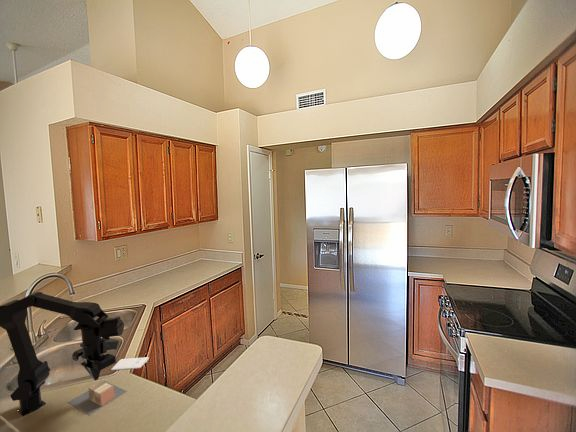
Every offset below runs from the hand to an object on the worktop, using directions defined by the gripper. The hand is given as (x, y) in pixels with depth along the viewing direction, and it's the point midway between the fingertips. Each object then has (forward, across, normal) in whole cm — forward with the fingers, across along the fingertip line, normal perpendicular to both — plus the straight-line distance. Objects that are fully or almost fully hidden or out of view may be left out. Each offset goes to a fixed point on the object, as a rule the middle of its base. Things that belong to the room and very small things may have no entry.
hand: (96, 379), depth 104 cm
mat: (+7, 0, 0) cm, 7 cm away
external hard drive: (+8, +10, -18) cm, 22 cm away
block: (+4, +1, 0) cm, 4 cm away
